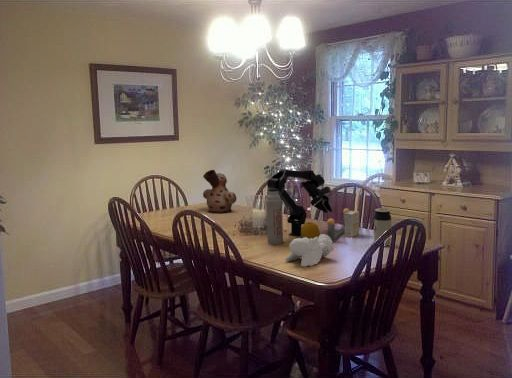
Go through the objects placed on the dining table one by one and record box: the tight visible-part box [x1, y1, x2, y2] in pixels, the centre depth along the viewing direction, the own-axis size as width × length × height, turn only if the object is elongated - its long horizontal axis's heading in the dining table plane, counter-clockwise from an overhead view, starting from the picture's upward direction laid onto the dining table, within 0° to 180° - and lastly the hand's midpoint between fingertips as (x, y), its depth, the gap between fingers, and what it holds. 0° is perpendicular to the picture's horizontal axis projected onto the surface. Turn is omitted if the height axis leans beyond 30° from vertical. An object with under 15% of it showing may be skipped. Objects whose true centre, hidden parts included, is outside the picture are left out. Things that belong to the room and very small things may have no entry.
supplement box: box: [344, 210, 360, 238], centre depth 263 cm, size 8×5×13 cm, turn 141°
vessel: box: [202, 169, 238, 214], centre depth 337 cm, size 29×22×30 cm
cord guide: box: [326, 207, 351, 243], centre depth 266 cm, size 34×4×12 cm, turn 154°
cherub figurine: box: [285, 233, 335, 268], centre depth 219 cm, size 13×12×20 cm
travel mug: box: [373, 207, 392, 247], centre depth 243 cm, size 8×8×18 cm
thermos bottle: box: [265, 188, 284, 245], centre depth 252 cm, size 8×8×28 cm
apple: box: [300, 221, 321, 240], centre depth 248 cm, size 10×10×12 cm
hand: (329, 212), depth 268 cm, fingers open, 9 cm apart
